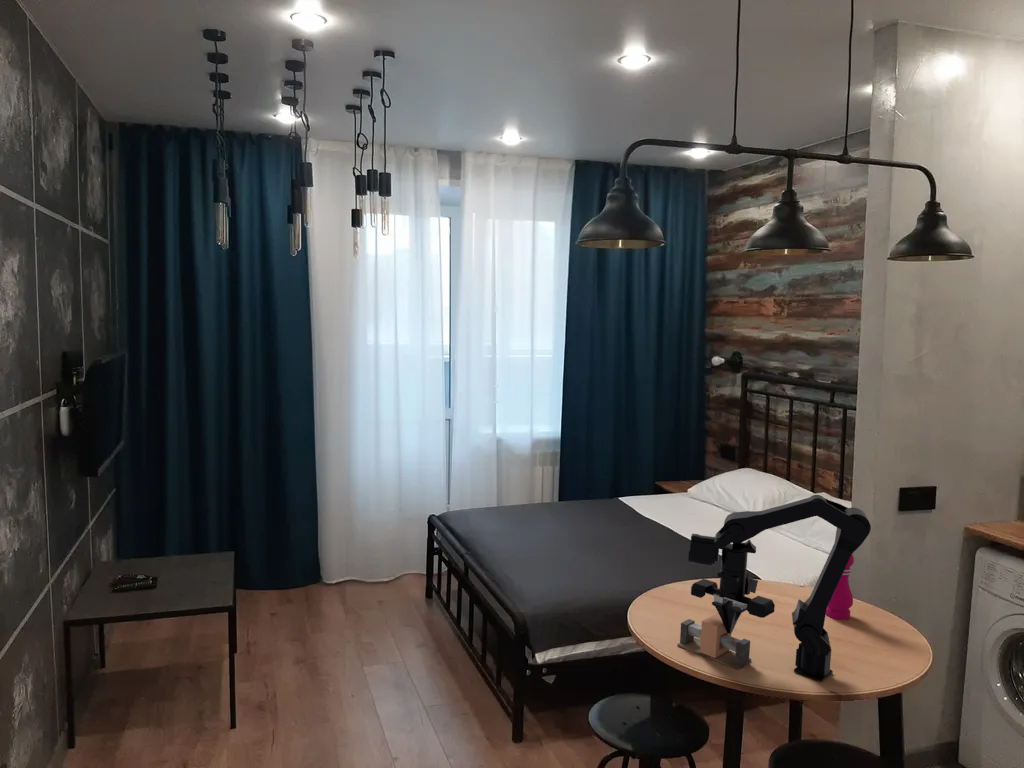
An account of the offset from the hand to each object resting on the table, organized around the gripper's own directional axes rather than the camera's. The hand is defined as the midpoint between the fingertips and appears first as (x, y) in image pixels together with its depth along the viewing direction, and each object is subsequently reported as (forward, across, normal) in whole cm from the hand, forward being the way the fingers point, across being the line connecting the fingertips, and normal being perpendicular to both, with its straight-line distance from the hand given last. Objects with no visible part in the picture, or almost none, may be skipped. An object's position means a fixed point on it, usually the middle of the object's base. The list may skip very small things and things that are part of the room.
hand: (729, 632), depth 181 cm
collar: (+6, +3, 0) cm, 7 cm away
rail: (+6, +4, 0) cm, 7 cm away
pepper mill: (+6, -7, -47) cm, 48 cm away
